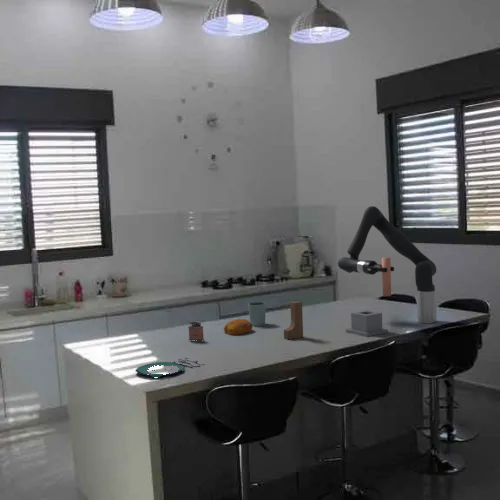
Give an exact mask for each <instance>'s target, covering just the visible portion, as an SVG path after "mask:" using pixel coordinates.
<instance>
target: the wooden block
mask: <svg viewBox="0 0 500 500" xmlns="http://www.w3.org/2000/svg"><path fill="white" fill-rule="evenodd" d="M289 303H290V325H289V326H288V327H286V328H285V329H283V338H284V339H285V340H288V339H289V340H293V338H295V339H299V338H300V337H301V338H303V337H304V322H303V320H304V319H303V302H302V301H299V300H297V301H296V300H295V301H290V302H289Z"/></svg>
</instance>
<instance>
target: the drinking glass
mask: <svg viewBox="0 0 500 500" xmlns="http://www.w3.org/2000/svg"><path fill="white" fill-rule="evenodd" d="M247 307H248V317H249V322H250V323H251V324H252V327H261V326H265V325H266V312H267V311H266V309H267V303H266V302H264V301H263V302H262V301H254V302H249V303H247Z"/></svg>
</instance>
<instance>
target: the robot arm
mask: <svg viewBox="0 0 500 500" xmlns="http://www.w3.org/2000/svg"><path fill="white" fill-rule="evenodd" d="M372 227H374V228H375V229H376V230H377V231H379V232H380V233H381V235H382V236H383V238H384V239H385V240H386V242H387V243H388V244H389V245H390V246H391V247H392V248H393V249H394V250H395V251H396V252H397V254H400V255H401V256H403V257H404V258H407V259H408V260H410V262H412V263H413V264H414V265H415V269H414V270H415V271H414V276H415V277H414V278H415V286H416V293H417V294H416V297H417V299H416V301H417V305H416V306H417V322H418V323H419V324H434V323H436V322H437V304H436V287H435V285H434V283H433V276H435V274H436V273H437V266H436V264H435V262H433V261H432V260H431V259H430V258H428V257H427V256H426V255H425V254H424V253H422V252H421V250H419V249H418V247H417V246H416V245H415V244H414V243H413V242H412V241H411V240H410V239H409V238H408V237H407V236H406V235H405V233H403V232H402V231H401V230H400V229H398V228H397V227H396V226H395V225H393V224H392V223H391V222H390V221H389V220H388V219H387V218H386V217H385V215H384V214H383V212H382V211H381V210H380V209H379V208H378V207H376V206H373V205H372V206H368V207H367V208H366V209H364V212H363V214H362V218H361V221H360V224H359V226H358V229H357V231H356V232H355V235H354V238H353V239H352V241H351V242H350V245H349V247H348V249H347V255H349V256H350V257H347V256H344V257H340V258H339V259H338V262H337V266H338V268H339V269H340V270H343V271H344V272H347V273H348V274H350V273H353V272H354V273H360V274H363V275H375V274H377V273H382V272H387V268H383V267H382V263H380V264H379V263H378V262H376V261H375V260H370V259H369V260H368V259H359V257H360V254H361V252H362V250H363V248H364V246H365V244H366V240H367V238H368V235H369V232H370V231H371V229H372ZM394 271H395V267H394V266H391V272H394ZM435 321H436V322H435ZM433 322H434V323H433Z"/></svg>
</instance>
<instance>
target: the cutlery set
mask: <svg viewBox="0 0 500 500" xmlns="http://www.w3.org/2000/svg"><path fill="white" fill-rule="evenodd" d="M185 358H186V359H190V358H189V357H185ZM179 360H182V361H185V362H182V361H181V363H182V364H183V363H186V361H187V360H185V359H182V358H178V361H179ZM195 361H196V362H198V361H199V360H195ZM196 362H195V363H196ZM154 365H155V366H157V365H159V366H161V365H164V366H172V365H173V366H177V367H178V368H179V370H178V372H175V373H172V374H170V373H169V374H166V375H167V376H171V375H175V374H176V375H177V374H179V373H181V372H182V370H184V371H185V369H186V366H183V365H180V364H178V363H175V362H174V363H173V361H157V362H153V363H148V364H147V363H146V364H144V365H141V366H138V367H137V368H136V369H135V372H136V373H137V374H139V375H141V376H144V377H145V376H146V377H152V378H153V377H159V378H161V377H166V375H163V374H151V373H149V372H148V371H147V370H149V369H148V368H150V367H152V366H153V367H154ZM165 370H166V369H165ZM152 371H153V370H152ZM154 371H155V370H154ZM147 374H149V375H147Z"/></svg>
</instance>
